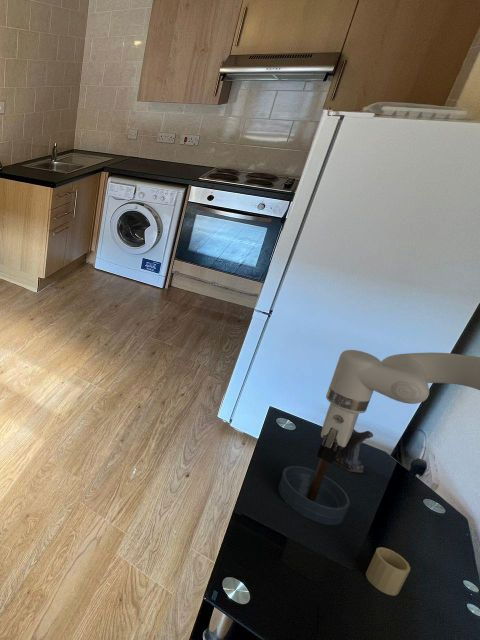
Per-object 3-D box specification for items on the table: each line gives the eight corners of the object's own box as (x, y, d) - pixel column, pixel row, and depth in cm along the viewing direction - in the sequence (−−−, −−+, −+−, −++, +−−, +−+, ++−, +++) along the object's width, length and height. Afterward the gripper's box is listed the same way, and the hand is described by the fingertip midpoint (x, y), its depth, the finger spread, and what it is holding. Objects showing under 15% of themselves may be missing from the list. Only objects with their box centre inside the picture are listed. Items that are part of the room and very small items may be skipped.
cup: (383, 573, 95) (395, 548, 92) (404, 599, 90) (417, 573, 87) (358, 570, 95) (369, 545, 93) (377, 595, 90) (390, 569, 88)
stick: (311, 498, 111) (332, 439, 105) (315, 504, 110) (337, 444, 104) (304, 497, 111) (325, 438, 106) (308, 503, 110) (330, 443, 104)
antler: (364, 466, 126) (392, 398, 118) (361, 479, 121) (389, 410, 113) (317, 444, 134) (340, 380, 127) (312, 456, 129) (336, 390, 122)
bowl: (318, 484, 119) (324, 468, 117) (357, 530, 105) (364, 512, 103) (267, 479, 120) (272, 463, 118) (298, 523, 107) (304, 505, 105)
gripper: (360, 419, 93) (337, 482, 99) (373, 394, 102) (351, 452, 108) (319, 402, 99) (299, 462, 104) (335, 380, 108) (316, 436, 114)
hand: (326, 457), depth 106 cm, fingers closed on stick, 1 cm apart
